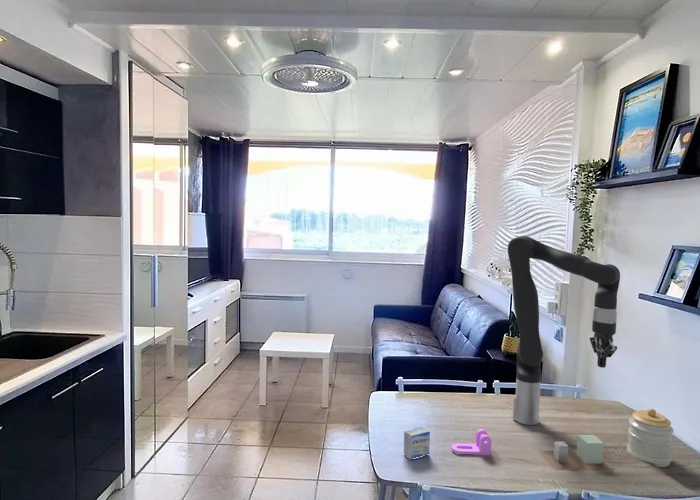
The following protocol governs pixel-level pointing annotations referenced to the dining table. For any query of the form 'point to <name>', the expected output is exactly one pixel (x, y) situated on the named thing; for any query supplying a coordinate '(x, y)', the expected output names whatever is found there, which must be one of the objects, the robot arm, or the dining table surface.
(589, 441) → the sage cap
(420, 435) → the medicine box
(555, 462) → the walnut board
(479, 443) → the bracket
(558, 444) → the steel post
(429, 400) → the dining table surface
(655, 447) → the jar
